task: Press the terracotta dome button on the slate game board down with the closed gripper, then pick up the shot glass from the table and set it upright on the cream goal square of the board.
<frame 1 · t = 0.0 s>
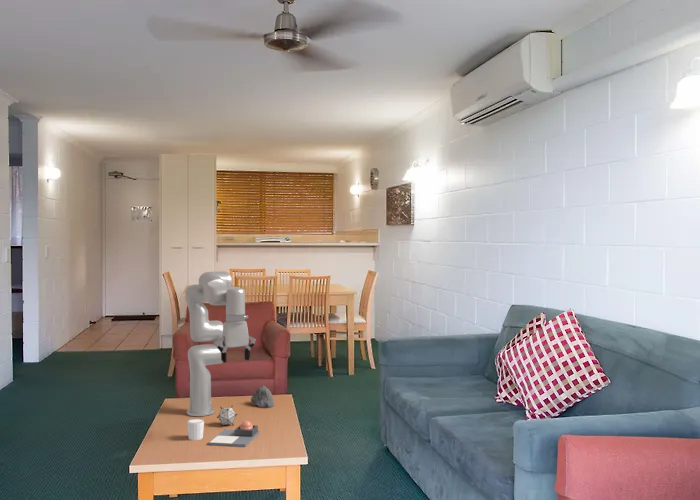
hand: (235, 360, 261), 31 cm above the table, tool pointing down, fingers open, 9 cm apart
game die: (227, 425, 280), on the table
mineral rock: (262, 405, 315), on the table
shot glass: (195, 438, 262), on the table
dome: (246, 426, 264), point 4 cm above the table, slide at 0.0 cm
board: (234, 439, 260), on the table
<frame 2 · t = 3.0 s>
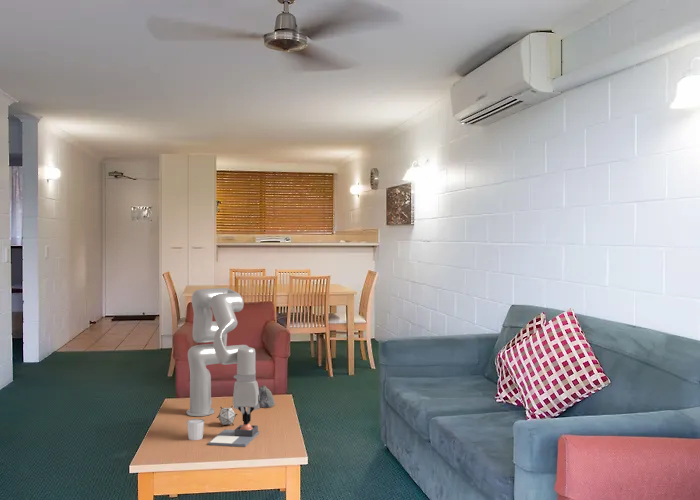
hand: (246, 423, 264), 5 cm above the table, tool pointing down, fingers closed
dome: (246, 428, 264), point 3 cm above the table, slide at 0.9 cm, touching gripper
everything else where it was.
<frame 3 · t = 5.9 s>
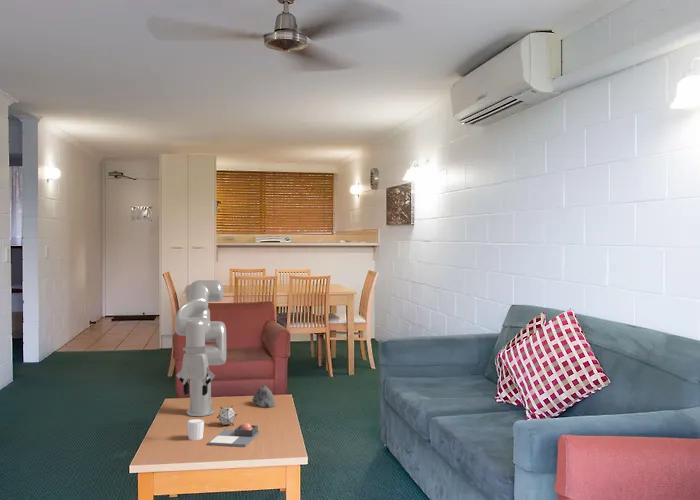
hand: (195, 394, 261), 18 cm above the table, tool pointing down, fingers open, 7 cm apart
dome: (246, 428, 264), point 3 cm above the table, slide at 0.9 cm, touching board
everything else where it was.
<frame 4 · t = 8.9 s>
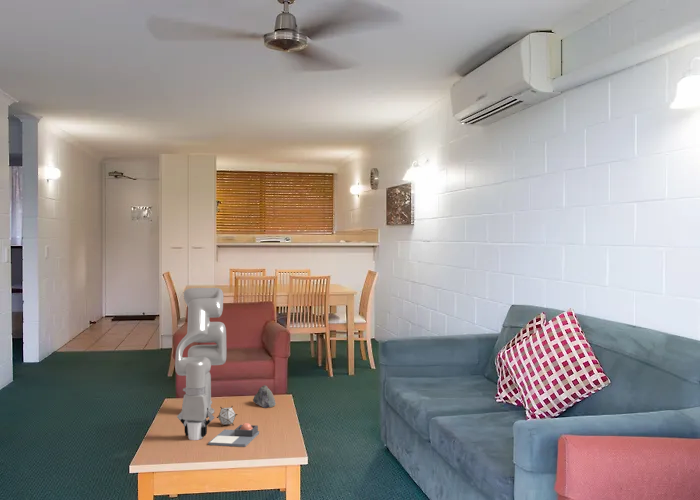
hand: (195, 435, 262), 1 cm above the table, tool pointing down, fingers closed on shot glass, 6 cm apart
shot glass: (195, 438, 262), on the table, touching gripper
everything else where it was.
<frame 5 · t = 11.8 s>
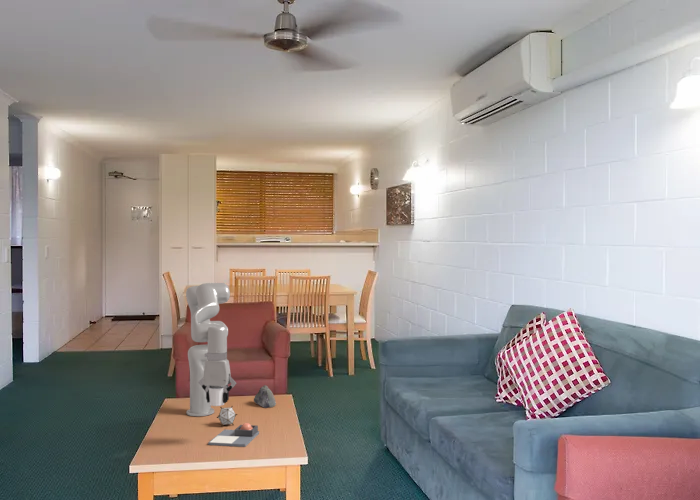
hand: (217, 401, 257), 16 cm above the table, tool pointing down, fingers closed on shot glass, 6 cm apart
shot glass: (217, 404, 257), point 15 cm above the table, touching gripper
when the fingers open (3 cm above the table, at t = 14.9 s): shot glass drops 1 cm, resting on board.
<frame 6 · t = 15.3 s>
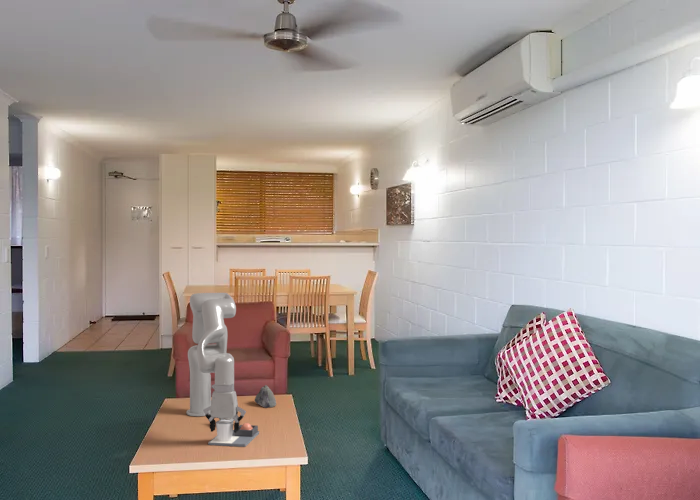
hand: (224, 431, 256), 4 cm above the table, tool pointing down, fingers open, 9 cm apart
shot glass: (224, 439, 256), point 1 cm above the table, touching board
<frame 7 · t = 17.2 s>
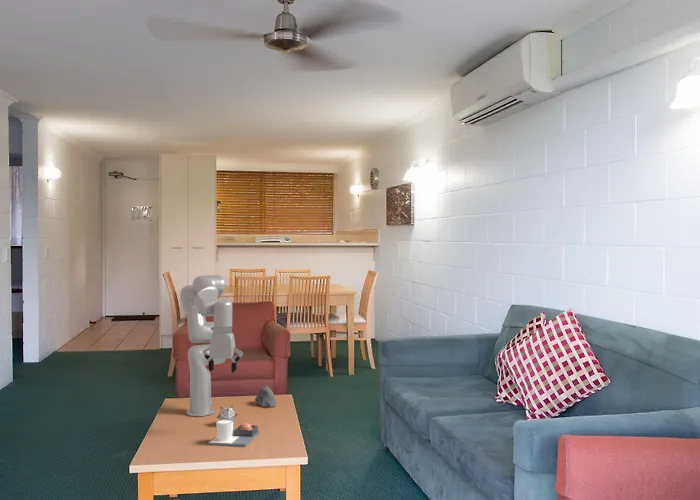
hand: (222, 371, 269), 25 cm above the table, tool pointing down, fingers open, 9 cm apart
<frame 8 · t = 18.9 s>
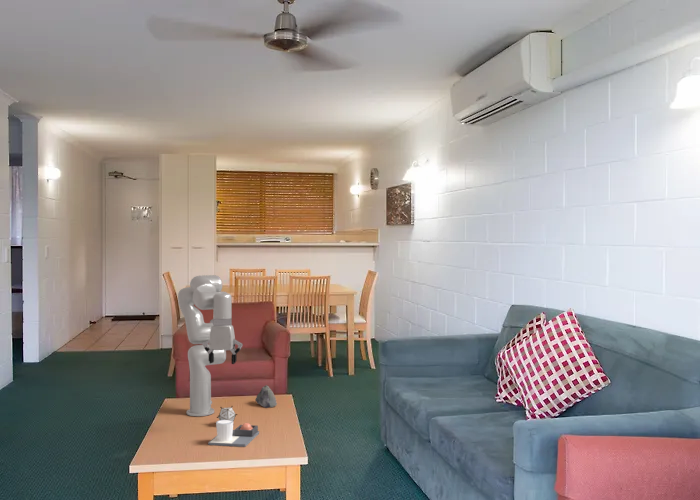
hand: (222, 363, 272), 28 cm above the table, tool pointing down, fingers open, 9 cm apart
at the end: dome slide at 0.9 cm; shot glass 0.2 cm from the target spot on the board, point 0.9 cm above the board's base; shot glass tilted 0° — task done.
